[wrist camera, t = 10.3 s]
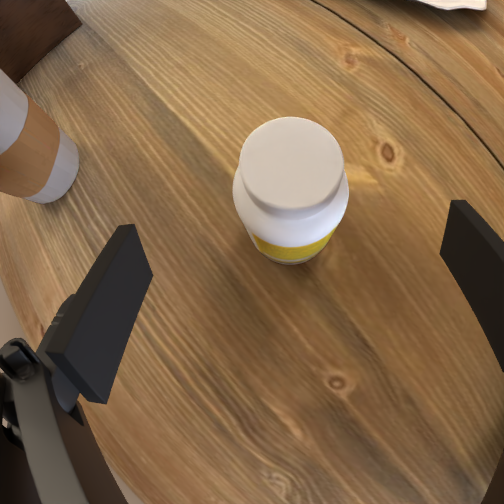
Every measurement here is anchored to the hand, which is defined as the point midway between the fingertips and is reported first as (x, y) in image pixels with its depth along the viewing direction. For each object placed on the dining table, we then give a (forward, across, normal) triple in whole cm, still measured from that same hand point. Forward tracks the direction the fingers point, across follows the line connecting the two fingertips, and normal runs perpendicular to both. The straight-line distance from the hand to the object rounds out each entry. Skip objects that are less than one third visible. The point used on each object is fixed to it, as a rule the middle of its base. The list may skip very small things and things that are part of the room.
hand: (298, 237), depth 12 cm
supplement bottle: (+8, 0, -4) cm, 9 cm away
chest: (+29, -33, +17) cm, 47 cm away
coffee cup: (+13, -20, +1) cm, 24 cm away
